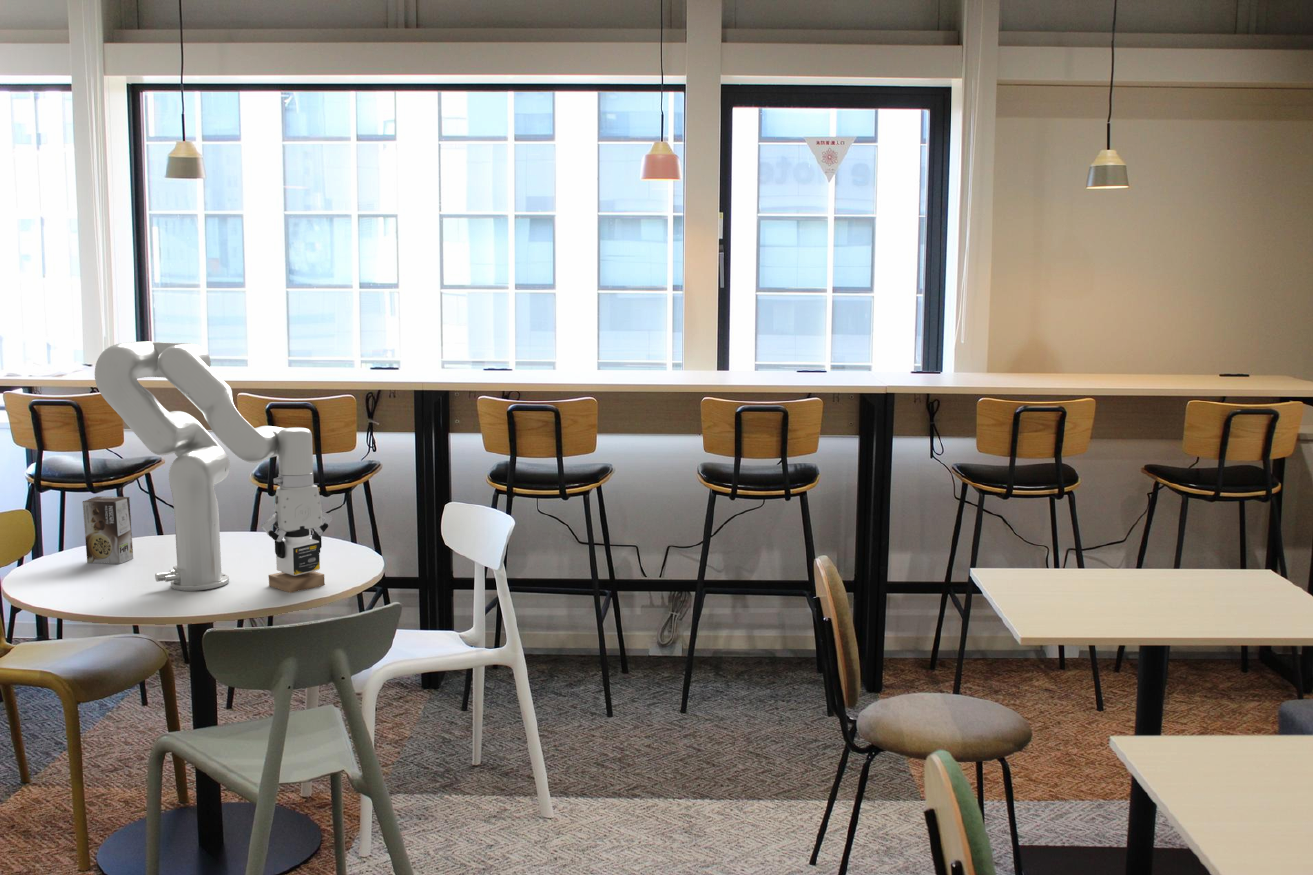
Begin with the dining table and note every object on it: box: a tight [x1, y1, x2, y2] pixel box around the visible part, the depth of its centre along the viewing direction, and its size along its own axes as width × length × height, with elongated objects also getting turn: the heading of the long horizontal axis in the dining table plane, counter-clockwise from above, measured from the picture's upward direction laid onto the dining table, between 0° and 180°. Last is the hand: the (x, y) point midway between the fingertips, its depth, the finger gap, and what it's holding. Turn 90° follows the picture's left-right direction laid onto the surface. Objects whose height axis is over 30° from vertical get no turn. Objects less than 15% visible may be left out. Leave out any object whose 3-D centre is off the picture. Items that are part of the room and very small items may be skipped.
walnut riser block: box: [268, 571, 326, 594], centre depth 253 cm, size 9×9×3 cm
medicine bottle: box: [275, 526, 321, 576], centre depth 253 cm, size 7×7×12 cm
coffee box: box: [82, 496, 134, 565], centre depth 274 cm, size 9×6×16 cm
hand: (298, 554), depth 253 cm, fingers closed on medicine bottle, 8 cm apart
